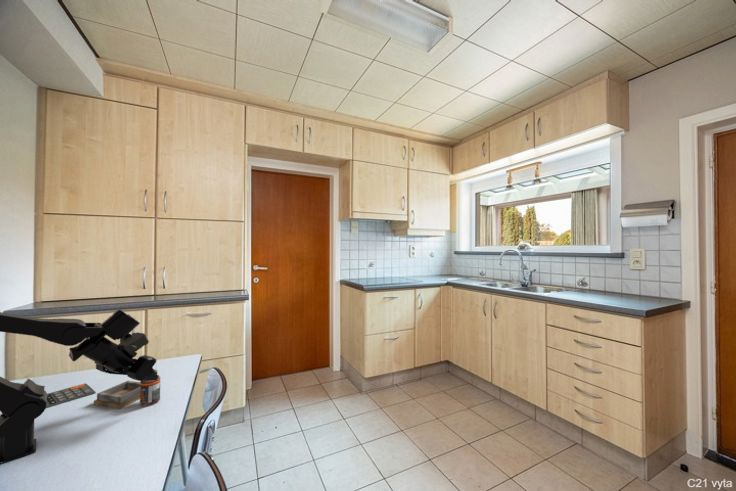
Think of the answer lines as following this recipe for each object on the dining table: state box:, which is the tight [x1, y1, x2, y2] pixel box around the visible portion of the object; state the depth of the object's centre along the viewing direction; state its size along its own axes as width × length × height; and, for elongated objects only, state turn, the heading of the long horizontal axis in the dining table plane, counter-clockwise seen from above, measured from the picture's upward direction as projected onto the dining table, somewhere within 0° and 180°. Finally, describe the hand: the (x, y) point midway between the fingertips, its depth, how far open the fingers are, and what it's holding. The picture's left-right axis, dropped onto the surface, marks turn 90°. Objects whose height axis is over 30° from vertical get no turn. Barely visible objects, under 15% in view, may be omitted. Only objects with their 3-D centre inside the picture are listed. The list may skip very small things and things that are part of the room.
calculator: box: [45, 382, 96, 409], centre depth 96 cm, size 12×1×15 cm
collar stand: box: [93, 380, 141, 410], centre depth 95 cm, size 10×10×3 cm
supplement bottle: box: [139, 369, 161, 407], centre depth 93 cm, size 5×5×10 cm
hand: (146, 376), depth 92 cm, fingers open, 9 cm apart
